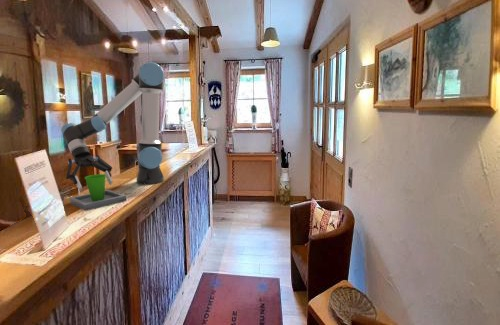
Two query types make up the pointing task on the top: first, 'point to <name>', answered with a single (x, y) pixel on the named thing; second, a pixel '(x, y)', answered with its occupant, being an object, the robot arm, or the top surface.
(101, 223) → the top surface
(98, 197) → the cup
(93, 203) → the tray
